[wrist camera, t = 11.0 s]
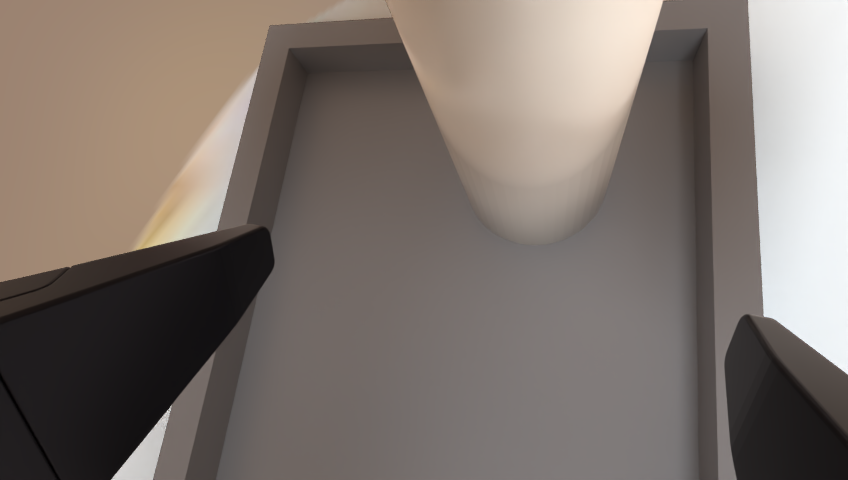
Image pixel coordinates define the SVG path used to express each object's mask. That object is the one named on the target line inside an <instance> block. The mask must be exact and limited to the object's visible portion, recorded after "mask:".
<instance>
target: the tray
mask: <svg viewBox="0 0 848 480" xmlns="http://www.w3.org/2000/svg"><path fill="white" fill-rule="evenodd" d="M245 224H255V225H261V226H265V227H266V228H268V230H269V231H270V234H271V240H272V246H273V252H274V258H275V264H274V268H273V271H272V272H271V274H270V275H269V277H268V278H267V280H266V281H265V283H264V285H263V286H262V288H261V289H260V291H259V292H258V294H257V295H256V297H255V298H254V300H253V301H252V303H251V304H250V306H249V307H248V309H247V310H246V312H245V313H244V315H243V316H242V318H241V319H240V321H239V322H238V324H237V325H236V326H235V327H234V329H233V330H232V331H231V333H230V334H229V335H228V336H227V338H226V339H225V340H224V341H223V342H222V344H221V345H220V346H219V347H218V349H217V350H216V351H215V352H214V354H213V355H212V356H211V357H210V358H209V360H208V361H207V362H206V363H205V365H204V366H203V367H202V368H201V369H200V371H199V372H198V373H197V374H196V376H195V377H194V378H193V379H192V381H191V382H190V383H189V384H188V385H187V387H186V388H185V389H184V390H183V392H182V393H181V394H180V395H179V397H178V398H177V399H176V400H175V401H174V403H173V404H172V408H171V412H170V416H169V420H168V423H167V427H166V431H165V435H164V439H163V443H162V447H161V451H160V455H159V458H158V462H157V466H156V470H155V474H154V478H153V480H737V478H736V474H735V469H734V464H733V459H732V453H731V446H730V436H729V423H728V410H727V397H726V383H725V370H724V361H725V355H726V352H727V349H728V347H729V344H730V341H731V339H732V336H733V334H734V331H735V329H736V326H737V324H738V322H739V320H740V318H741V317H742V316H743V315H745V314H751V315H757V316H762V317H764V316H763V296H762V276H761V256H760V236H759V216H758V196H757V176H756V157H755V137H754V117H753V97H752V77H751V57H750V37H749V17H748V0H670V1H663V3H662V7H661V10H660V13H659V17H658V20H657V23H656V27H655V30H654V33H653V37H652V40H651V44H650V47H649V50H648V54H647V57H646V60H645V64H644V67H643V70H642V74H641V77H640V80H639V84H638V87H637V91H636V94H635V97H634V101H633V104H632V107H631V111H630V114H629V117H628V121H627V124H626V128H625V131H624V134H623V138H622V141H621V144H620V148H619V151H618V154H617V158H616V161H615V164H614V168H613V171H612V175H611V178H610V181H609V185H608V188H607V191H606V195H605V198H604V200H603V203H602V205H601V207H600V209H599V211H598V212H597V214H596V215H595V217H594V218H593V219H592V220H591V221H590V222H589V223H588V224H587V225H586V226H585V227H584V228H583V229H582V230H580V231H579V232H577V233H576V234H574V235H573V236H571V237H568V238H566V239H564V240H562V241H558V242H555V243H551V244H546V245H524V244H518V243H514V242H511V241H508V240H506V239H504V238H501V237H499V236H498V235H496V234H495V233H493V232H491V231H490V230H489V229H488V228H487V227H486V226H485V225H484V224H483V223H482V222H481V221H480V220H479V218H478V217H477V215H476V214H475V212H474V210H473V208H472V206H471V204H470V201H469V199H468V197H467V194H466V192H465V189H464V187H463V185H462V182H461V180H460V177H459V175H458V173H457V170H456V168H455V165H454V163H453V161H452V158H451V156H450V154H449V151H448V149H447V146H446V144H445V142H444V139H443V137H442V134H441V132H440V130H439V127H438V125H437V122H436V120H435V118H434V115H433V113H432V110H431V108H430V106H429V103H428V101H427V98H426V96H425V94H424V91H423V89H422V86H421V84H420V82H419V79H418V77H417V75H416V72H415V70H414V67H413V65H412V63H411V60H410V58H409V55H408V53H407V51H406V48H405V46H404V43H403V41H402V39H401V36H400V34H399V31H398V29H397V27H396V24H395V22H394V19H393V18H381V19H365V20H349V21H333V22H317V23H301V24H285V25H270V26H269V30H268V34H267V38H266V42H265V46H264V50H263V54H262V58H261V62H260V65H259V69H258V73H257V77H256V81H255V85H254V89H253V93H252V97H251V100H250V104H249V108H248V112H247V116H246V120H245V124H244V128H243V132H242V135H241V139H240V143H239V147H238V151H237V155H236V159H235V163H234V167H233V170H232V174H231V178H230V182H229V186H228V190H227V194H226V198H225V202H224V206H223V209H222V213H221V217H220V221H219V225H218V229H217V231H220V230H224V229H229V228H233V227H237V226H241V225H245Z"/></svg>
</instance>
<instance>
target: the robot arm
mask: <svg viewBox="0 0 848 480" xmlns="http://www.w3.org/2000/svg"><path fill="white" fill-rule="evenodd" d="M274 264H275V258H274V252H273V246H272V240H271V234H270V231H269V230H268V228H266V227H265V226H261V225H255V224H245V225H241V226H237V227H233V228H229V229H224V230H220V231H216V232H212V233H208V234H203V235H199V236H195V237H191V238H187V239H182V240H178V241H174V242H170V243H166V244H161V245H157V246H153V247H149V248H145V249H141V250H136V251H132V252H128V253H124V254H120V255H115V256H111V257H107V258H103V259H99V260H94V261H90V262H86V263H82V264H78V265H74V266H72V267H71V268H70V267H65V268H61V269H57V270H53V271H48V272H44V273H40V274H35V275H31V276H26V277H22V278H18V279H13V280H8V281H4V282H0V480H111V479H112V478H113V476H114V475H115V474H116V473H117V472H118V470H119V469H120V468H121V467H122V465H123V464H124V463H125V462H126V460H127V459H128V458H129V457H130V456H131V454H132V453H133V452H134V451H135V449H136V448H137V447H138V446H139V444H140V443H141V442H142V441H143V440H144V438H145V437H146V436H147V435H148V433H149V432H150V431H151V430H152V428H153V427H154V426H155V425H156V424H157V422H158V421H159V420H160V419H161V417H162V416H163V415H164V414H165V413H166V411H167V410H168V409H169V408H170V406H171V405H172V404H173V403H174V401H175V400H176V399H177V398H178V397H179V395H180V394H181V393H182V392H183V390H184V389H185V388H186V387H187V385H188V384H189V383H190V382H191V381H192V379H193V378H194V377H195V376H196V374H197V373H198V372H199V371H200V369H201V368H202V367H203V366H204V365H205V363H206V362H207V361H208V360H209V358H210V357H211V356H212V355H213V354H214V352H215V351H216V350H217V349H218V347H219V346H220V345H221V344H222V342H223V341H224V340H225V339H226V338H227V336H228V335H229V334H230V333H231V331H232V330H233V329H234V327H235V326H236V325H237V324H238V322H239V321H240V319H241V318H242V316H243V315H244V313H245V312H246V310H247V309H248V307H249V306H250V304H251V303H252V301H253V300H254V298H255V297H256V295H257V294H258V292H259V291H260V289H261V288H262V286H263V285H264V283H265V281H266V280H267V278H268V277H269V275H270V274H271V272H272V271H273V268H274ZM724 370H725V383H726V397H727V410H728V423H729V436H730V446H731V453H732V459H733V464H734V469H735V474H736V478H737V480H848V374H846V373H845V372H844V371H842V370H841V369H840V368H838V367H837V366H836V365H834V364H833V363H832V362H830V361H829V360H828V359H826V358H825V357H824V356H822V355H821V354H820V353H818V352H817V351H816V350H814V349H813V348H812V347H810V346H809V345H808V344H806V343H805V342H804V341H802V340H801V339H800V338H798V337H797V336H796V335H794V334H793V333H792V332H790V331H789V330H788V329H786V328H785V327H784V326H782V325H781V324H780V323H778V322H777V321H776V320H774V319H772V318H768V317H762V316H757V315H751V314H745V315H743V316H742V317H741V318H740V320H739V322H738V324H737V326H736V329H735V331H734V334H733V336H732V339H731V341H730V344H729V347H728V349H727V352H726V355H725V361H724Z"/></svg>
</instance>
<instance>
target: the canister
mask: <svg viewBox="0 0 848 480" xmlns="http://www.w3.org/2000/svg"><path fill="white" fill-rule="evenodd" d="M386 3H387V5H388V7H389V10H390V12H391V15H392V17H393V19H394V22H395V24H396V27H397V29H398V31H399V34H400V36H401V39H402V41H403V43H404V46H405V48H406V51H407V53H408V55H409V58H410V60H411V63H412V65H413V67H414V70H415V72H416V75H417V77H418V79H419V82H420V84H421V86H422V89H423V91H424V94H425V96H426V98H427V101H428V103H429V106H430V108H431V110H432V113H433V115H434V118H435V120H436V122H437V125H438V127H439V130H440V132H441V134H442V137H443V139H444V142H445V144H446V146H447V149H448V151H449V154H450V156H451V158H452V161H453V163H454V165H455V168H456V170H457V173H458V175H459V177H460V180H461V182H462V185H463V187H464V189H465V192H466V194H467V197H468V199H469V201H470V204H471V206H472V208H473V210H474V212H475V214H476V215H477V217H478V218H479V220H480V221H481V222H482V223H483V224H484V225H485V226H486V227H487V228H488V229H489V230H490V231H491V232H493V233H495V234H496V235H498V236H499V237H501V238H504V239H506V240H508V241H511V242H514V243H518V244H524V245H546V244H551V243H555V242H558V241H562V240H564V239H566V238H568V237H571V236H573V235H574V234H576V233H577V232H579V231H580V230H582V229H583V228H584V227H585V226H586V225H587V224H588V223H589V222H590V221H591V220H592V219H593V218H594V217H595V215H596V214H597V212H598V211H599V209H600V207H601V205H602V203H603V200H604V198H605V195H606V191H607V188H608V185H609V181H610V178H611V175H612V171H613V168H614V164H615V161H616V158H617V154H618V151H619V148H620V144H621V141H622V138H623V134H624V131H625V128H626V124H627V121H628V117H629V114H630V111H631V107H632V104H633V101H634V97H635V94H636V91H637V87H638V84H639V80H640V77H641V74H642V70H643V67H644V64H645V60H646V57H647V54H648V50H649V47H650V44H651V40H652V37H653V33H654V30H655V27H656V23H657V20H658V17H659V13H660V10H661V7H662V3H663V0H386Z"/></svg>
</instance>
